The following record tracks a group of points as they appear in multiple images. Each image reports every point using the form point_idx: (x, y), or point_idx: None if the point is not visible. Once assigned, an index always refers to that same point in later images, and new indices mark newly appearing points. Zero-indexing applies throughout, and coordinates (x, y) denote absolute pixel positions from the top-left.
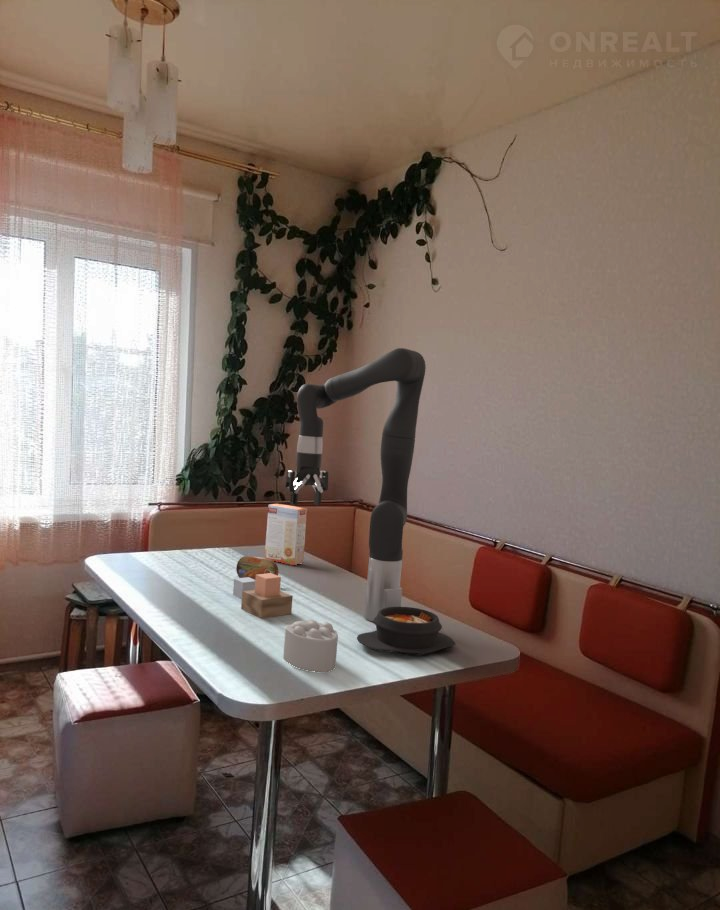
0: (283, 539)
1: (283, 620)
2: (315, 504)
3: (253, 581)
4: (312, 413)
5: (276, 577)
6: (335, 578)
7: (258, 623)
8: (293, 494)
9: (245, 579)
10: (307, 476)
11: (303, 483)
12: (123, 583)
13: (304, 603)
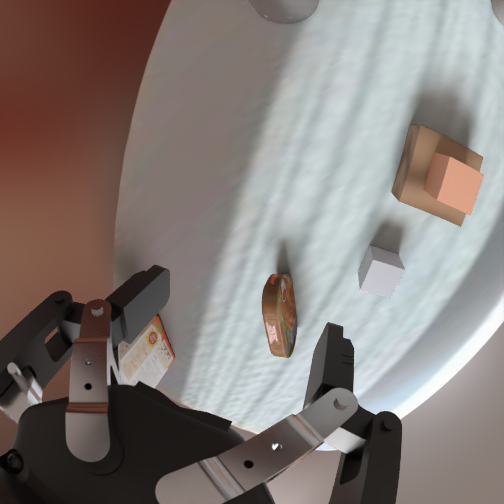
0: (146, 359)
1: (448, 114)
2: (168, 287)
3: (382, 262)
4: None
5: (460, 162)
6: (145, 230)
7: (486, 140)
8: (351, 390)
9: (380, 282)
10: (196, 496)
11: (267, 444)
12: (420, 393)
13: (331, 149)
